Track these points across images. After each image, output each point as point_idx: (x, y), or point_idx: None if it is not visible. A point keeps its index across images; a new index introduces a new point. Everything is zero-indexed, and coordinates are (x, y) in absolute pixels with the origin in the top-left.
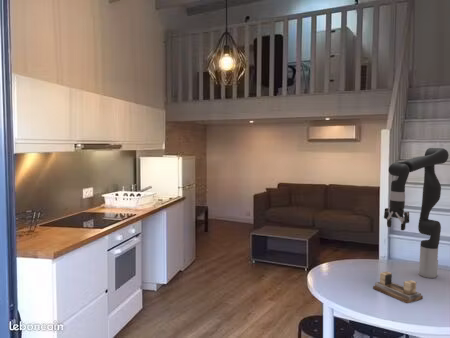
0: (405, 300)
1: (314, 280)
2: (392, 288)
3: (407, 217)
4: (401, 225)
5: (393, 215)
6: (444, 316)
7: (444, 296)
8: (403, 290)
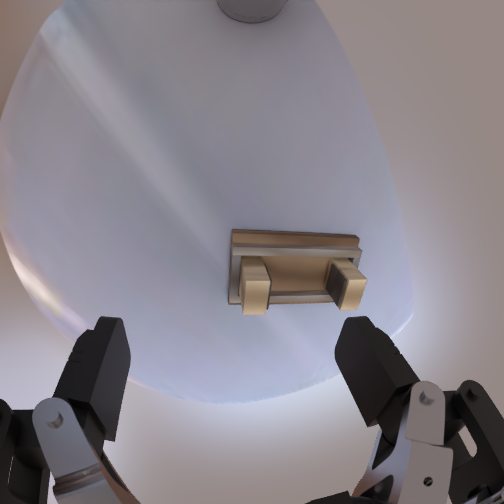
0: None
1: None
2: (276, 269)
3: (486, 464)
4: (363, 403)
5: None
6: (410, 278)
7: (383, 155)
8: (327, 291)
